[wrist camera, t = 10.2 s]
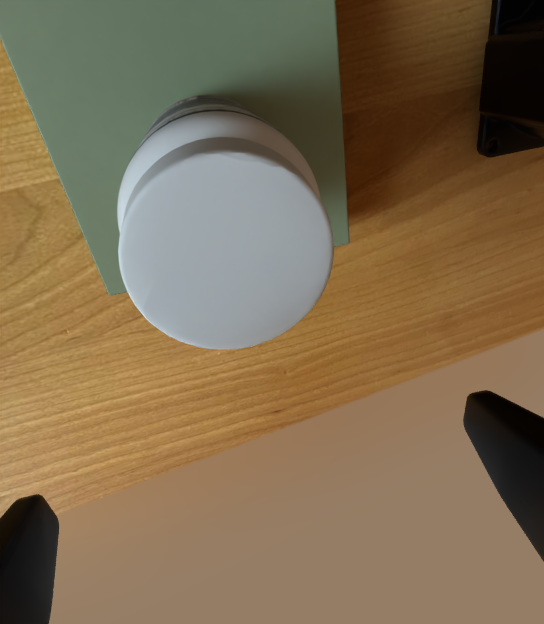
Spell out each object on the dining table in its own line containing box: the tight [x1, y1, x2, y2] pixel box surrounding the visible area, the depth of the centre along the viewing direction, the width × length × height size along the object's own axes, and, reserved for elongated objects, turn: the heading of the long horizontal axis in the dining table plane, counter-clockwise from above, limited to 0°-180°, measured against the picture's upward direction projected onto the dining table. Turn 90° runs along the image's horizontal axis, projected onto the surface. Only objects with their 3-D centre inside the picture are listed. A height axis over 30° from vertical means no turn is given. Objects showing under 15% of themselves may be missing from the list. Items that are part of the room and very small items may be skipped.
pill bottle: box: [117, 95, 334, 350], centre depth 11 cm, size 5×5×8 cm
